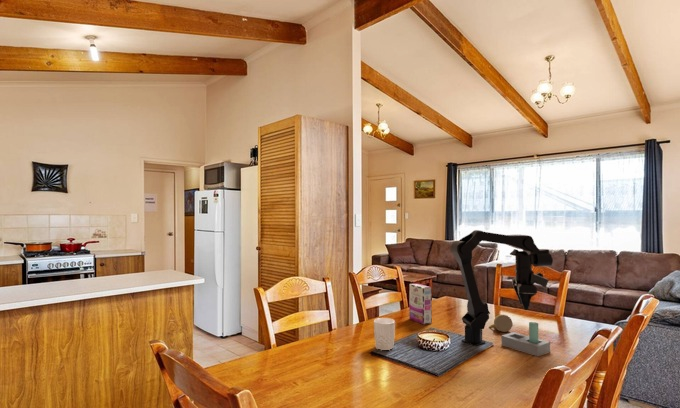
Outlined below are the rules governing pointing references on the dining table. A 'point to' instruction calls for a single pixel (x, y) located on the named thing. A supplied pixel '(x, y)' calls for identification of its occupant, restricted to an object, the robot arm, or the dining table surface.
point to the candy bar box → (420, 303)
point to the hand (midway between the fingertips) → (524, 307)
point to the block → (525, 344)
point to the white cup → (384, 333)
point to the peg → (533, 332)
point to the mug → (502, 323)
